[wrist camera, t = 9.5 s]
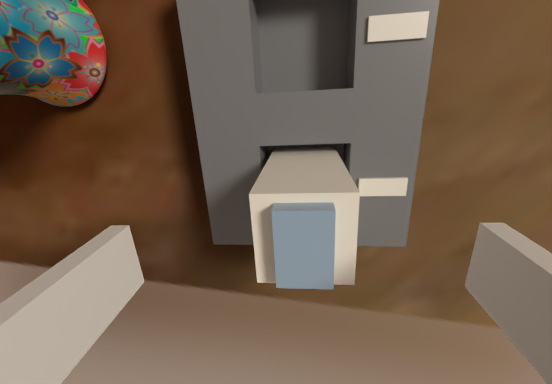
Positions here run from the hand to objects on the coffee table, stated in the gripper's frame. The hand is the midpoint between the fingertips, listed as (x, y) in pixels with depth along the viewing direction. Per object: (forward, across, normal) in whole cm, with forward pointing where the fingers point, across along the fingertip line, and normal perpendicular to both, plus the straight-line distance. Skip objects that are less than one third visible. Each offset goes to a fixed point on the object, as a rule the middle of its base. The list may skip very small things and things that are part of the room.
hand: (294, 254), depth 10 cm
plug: (+11, +1, 0) cm, 11 cm away
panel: (+12, +1, +4) cm, 13 cm away
